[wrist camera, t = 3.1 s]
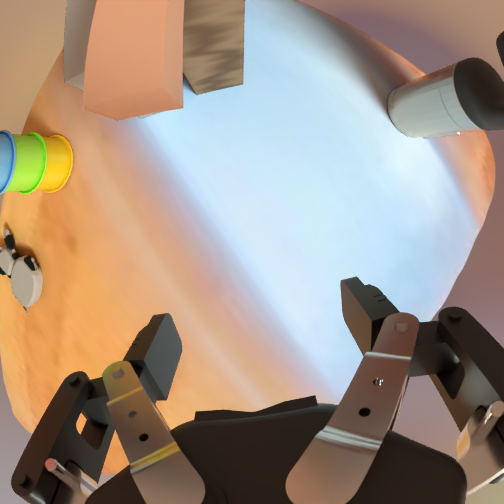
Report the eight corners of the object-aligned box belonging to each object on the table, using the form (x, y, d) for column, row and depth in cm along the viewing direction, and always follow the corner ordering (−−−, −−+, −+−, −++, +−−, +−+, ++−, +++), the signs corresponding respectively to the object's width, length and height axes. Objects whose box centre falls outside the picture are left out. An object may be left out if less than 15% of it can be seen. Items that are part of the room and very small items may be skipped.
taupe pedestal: (166, 44, 32) (119, -29, 12) (178, 106, 35) (123, 52, 15) (132, 56, 32) (67, -3, 12) (142, 118, 36) (64, 82, 15)
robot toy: (3, 265, 42) (40, 310, 44) (-10, 270, 38) (27, 318, 40) (14, 222, 40) (54, 269, 42) (0, 225, 35) (40, 276, 37)
